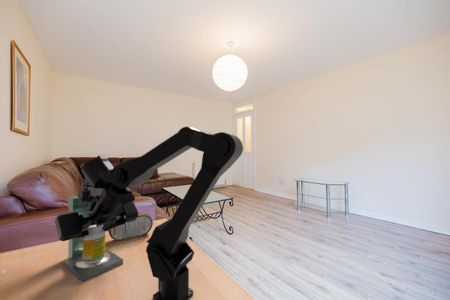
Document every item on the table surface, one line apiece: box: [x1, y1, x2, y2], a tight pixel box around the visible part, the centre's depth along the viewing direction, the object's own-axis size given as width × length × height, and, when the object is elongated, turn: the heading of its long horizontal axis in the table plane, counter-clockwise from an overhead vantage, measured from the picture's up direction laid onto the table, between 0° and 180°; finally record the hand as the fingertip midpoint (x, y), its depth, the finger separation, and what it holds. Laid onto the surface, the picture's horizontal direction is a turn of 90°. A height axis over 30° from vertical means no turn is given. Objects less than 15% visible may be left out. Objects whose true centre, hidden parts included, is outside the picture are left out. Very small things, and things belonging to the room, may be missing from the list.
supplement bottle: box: [82, 225, 106, 264], centre depth 56 cm, size 5×5×10 cm
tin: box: [107, 212, 154, 241], centre depth 74 cm, size 15×3×8 cm, turn 124°
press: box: [63, 195, 124, 283], centre depth 59 cm, size 24×10×18 cm, turn 55°
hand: (92, 234), depth 57 cm, fingers closed on supplement bottle, 5 cm apart
